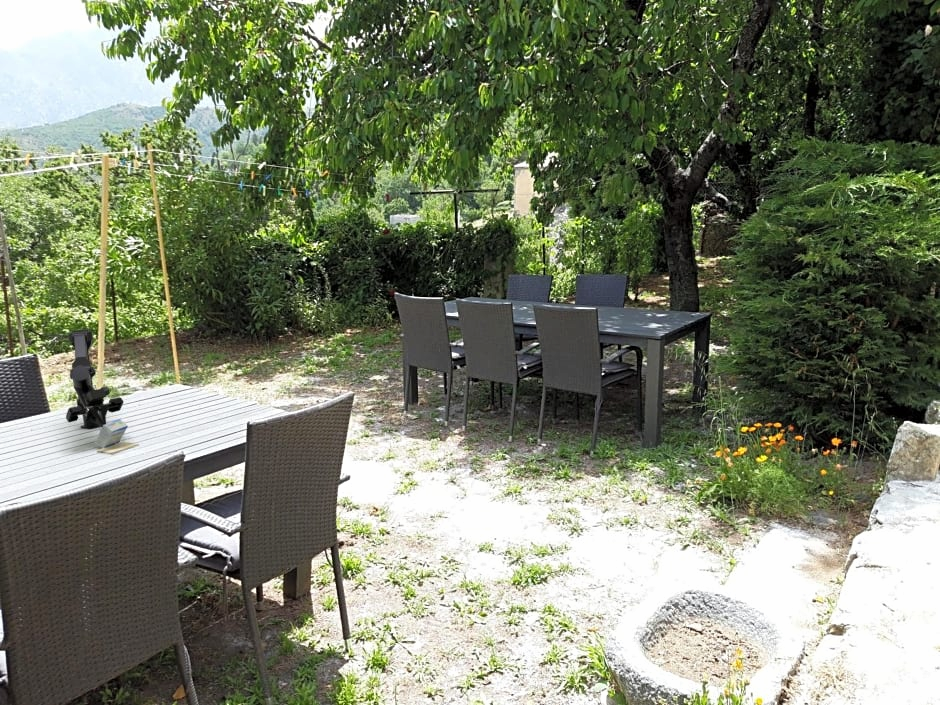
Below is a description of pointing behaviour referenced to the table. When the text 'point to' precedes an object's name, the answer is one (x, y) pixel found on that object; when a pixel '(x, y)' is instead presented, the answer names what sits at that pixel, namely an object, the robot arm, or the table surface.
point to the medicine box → (111, 433)
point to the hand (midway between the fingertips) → (105, 427)
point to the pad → (117, 447)
